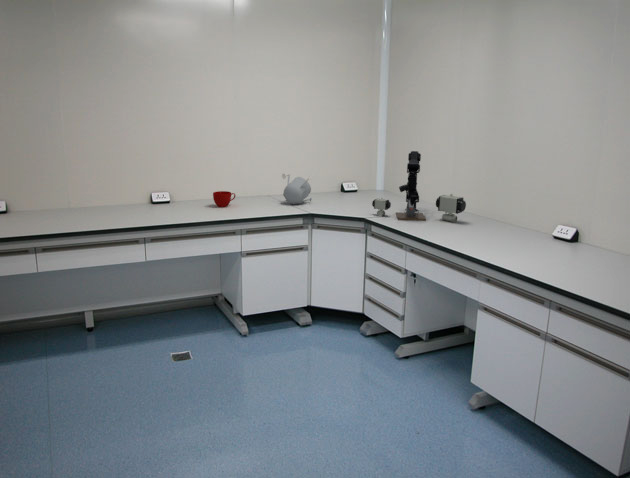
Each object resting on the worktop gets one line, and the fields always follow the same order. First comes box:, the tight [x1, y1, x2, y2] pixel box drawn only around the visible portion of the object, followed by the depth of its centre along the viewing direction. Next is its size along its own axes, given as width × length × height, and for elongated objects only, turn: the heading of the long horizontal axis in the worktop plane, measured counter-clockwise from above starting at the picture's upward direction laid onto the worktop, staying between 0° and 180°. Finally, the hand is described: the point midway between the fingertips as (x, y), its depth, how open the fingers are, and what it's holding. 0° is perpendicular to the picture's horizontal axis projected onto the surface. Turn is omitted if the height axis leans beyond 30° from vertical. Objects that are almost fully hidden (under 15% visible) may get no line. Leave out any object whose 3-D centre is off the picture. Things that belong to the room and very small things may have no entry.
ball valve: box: [435, 193, 467, 223], centre depth 352 cm, size 18×8×18 cm, turn 49°
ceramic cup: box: [212, 190, 236, 208], centre depth 393 cm, size 13×17×10 cm
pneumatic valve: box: [371, 197, 392, 217], centre depth 367 cm, size 6×12×12 cm, turn 60°
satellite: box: [281, 173, 312, 205], centre depth 404 cm, size 23×20×25 cm
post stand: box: [395, 206, 427, 222], centre depth 362 cm, size 18×18×7 cm
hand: (411, 204), depth 361 cm, fingers open, 9 cm apart
